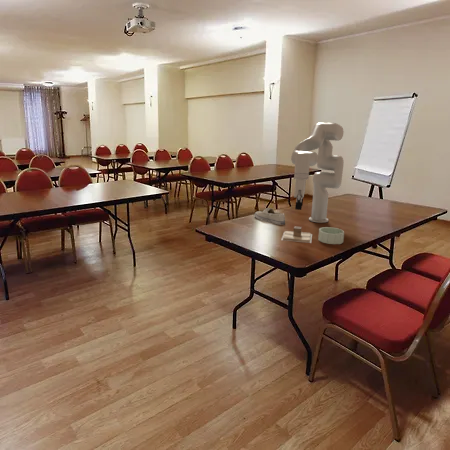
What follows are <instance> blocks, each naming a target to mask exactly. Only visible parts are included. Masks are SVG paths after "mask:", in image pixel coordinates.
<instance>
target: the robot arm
mask: <svg viewBox="0 0 450 450" xmlns="http://www.w3.org/2000/svg"><path fill="white" fill-rule="evenodd" d="M344 133H345V131H344V128H343V126H341V125H340V124H338V123H336V122H317V123H316V124H315V125H314V126H313V128H312V130H311V132H310V134H309V136H308V138H306V139H303V140H302V141H300V142H298V143H297V144H296V145H295V147H294V148H293V151H292V153H291V157H290V159H291V160H290V161H291V162H292V164H293V165H294V176H293V179H294V180H295V182H294V183H295V184H294V195H293V198H296V199H295V200H296V201H295V206H294V207H295V210H297V211H300V210H302V207H303V204H304V202H303V201H304V197H305V192H306V184H307V181H308V180H309V177H310V176H309V175H310V166H311V167H312V166H315V165H316V167H317V169H319V170H322V171H316V172H315V173H314V174H313V176H312V184H313V188H312V189H313V193H312V204H311V216H310V217H308V221H310V222H312V223H316V224H317V223H319V224H324V223H325V224H326V223H328V222H329V218H327V215H328V204H329V203H328V202H329V192H328V190H327V189H339V188H341V186H342V181H343V172H344V158H343V156H341V155H339V154H338V155H337V154H333V148H334V146H333V144H332V143H331V142H332V141H335V142H336V141H341V140H342V139H343V137H344ZM317 149H318V152H315V151H314V150H317ZM323 170H324V171H323ZM325 171H326V172H325ZM327 171H332V172H327ZM333 171H334V172H333ZM326 188H327V189H326Z"/></svg>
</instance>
